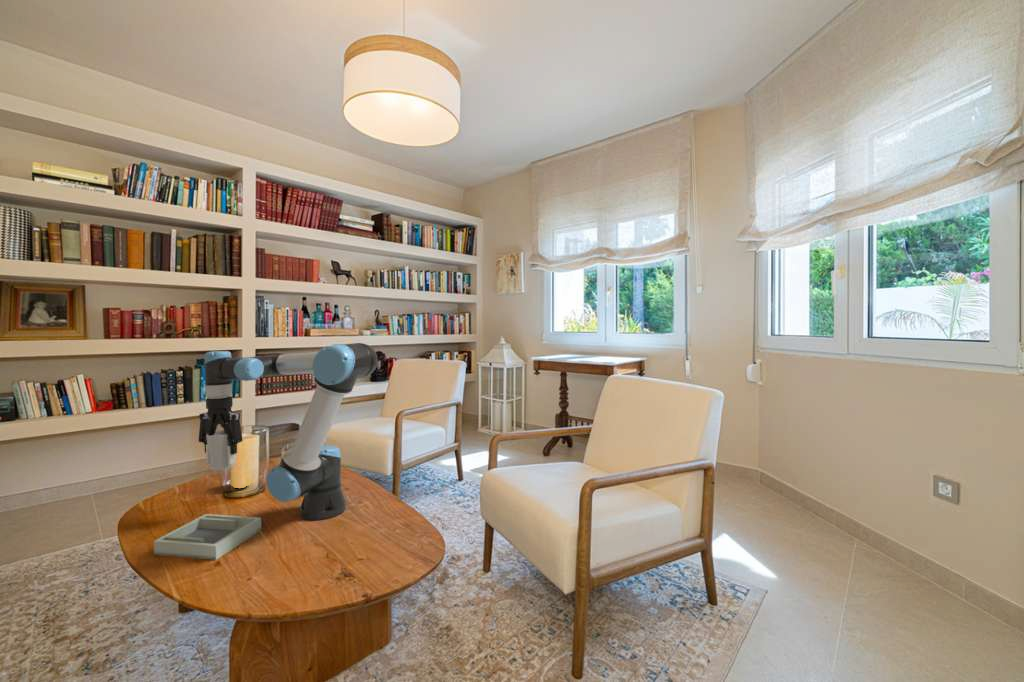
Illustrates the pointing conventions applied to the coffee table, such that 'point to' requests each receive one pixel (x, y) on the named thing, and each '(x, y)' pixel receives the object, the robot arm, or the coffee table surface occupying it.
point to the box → (207, 536)
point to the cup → (218, 451)
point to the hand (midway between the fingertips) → (221, 462)
